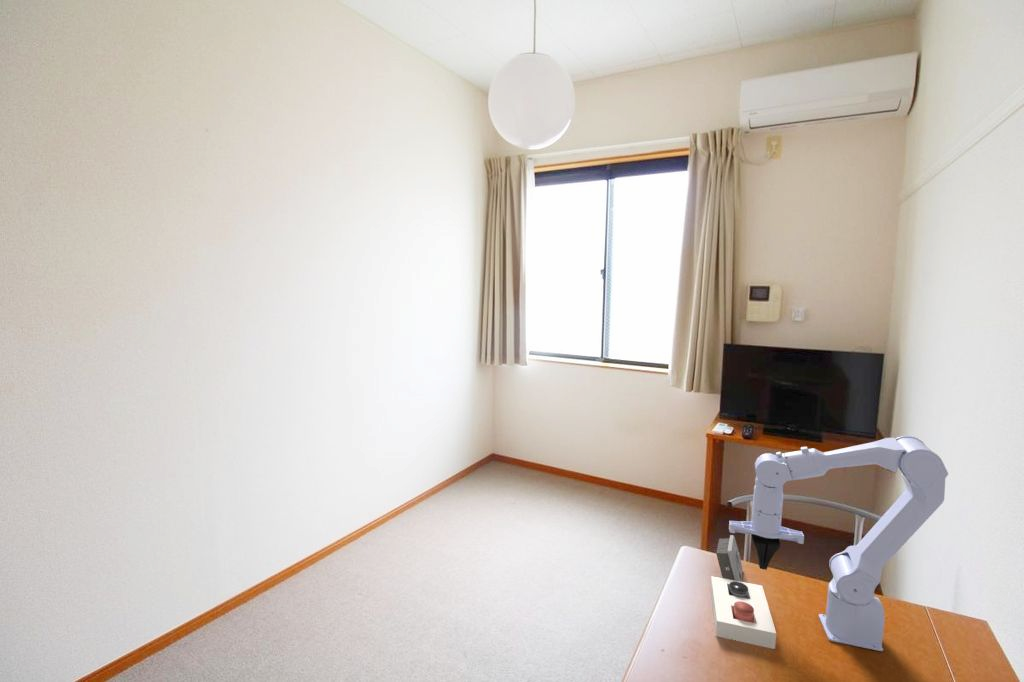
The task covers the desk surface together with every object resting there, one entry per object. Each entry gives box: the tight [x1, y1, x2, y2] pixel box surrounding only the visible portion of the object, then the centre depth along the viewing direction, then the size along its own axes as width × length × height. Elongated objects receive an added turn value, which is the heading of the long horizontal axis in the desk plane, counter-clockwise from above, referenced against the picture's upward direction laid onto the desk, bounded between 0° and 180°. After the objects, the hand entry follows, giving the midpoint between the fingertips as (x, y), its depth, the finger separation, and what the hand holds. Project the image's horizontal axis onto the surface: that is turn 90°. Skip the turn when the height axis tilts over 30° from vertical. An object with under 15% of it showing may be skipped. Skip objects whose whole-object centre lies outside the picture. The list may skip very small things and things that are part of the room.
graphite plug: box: [729, 582, 748, 598], centre depth 109 cm, size 4×4×4 cm
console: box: [709, 575, 777, 650], centre depth 105 cm, size 11×16×4 cm
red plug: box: [734, 601, 754, 623], centre depth 101 cm, size 4×4×4 cm
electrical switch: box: [715, 534, 743, 582], centre depth 120 cm, size 9×5×9 cm, turn 152°
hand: (762, 566), depth 107 cm, fingers closed
